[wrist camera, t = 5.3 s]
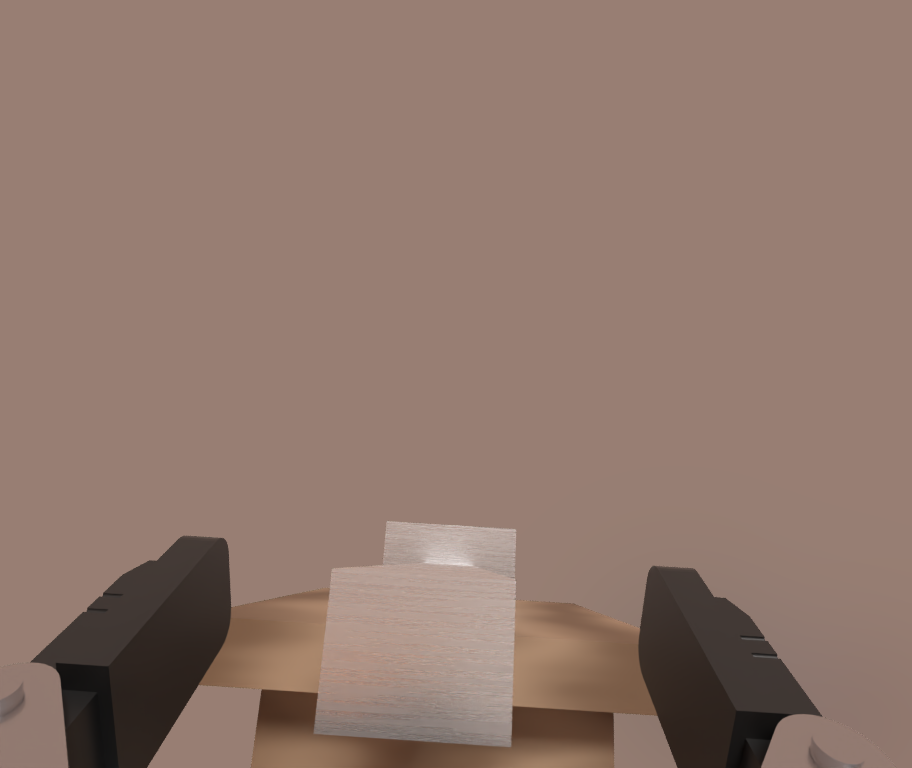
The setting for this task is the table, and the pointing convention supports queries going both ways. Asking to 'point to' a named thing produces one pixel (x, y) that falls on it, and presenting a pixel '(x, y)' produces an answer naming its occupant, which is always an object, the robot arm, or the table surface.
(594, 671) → the stand
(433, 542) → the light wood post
